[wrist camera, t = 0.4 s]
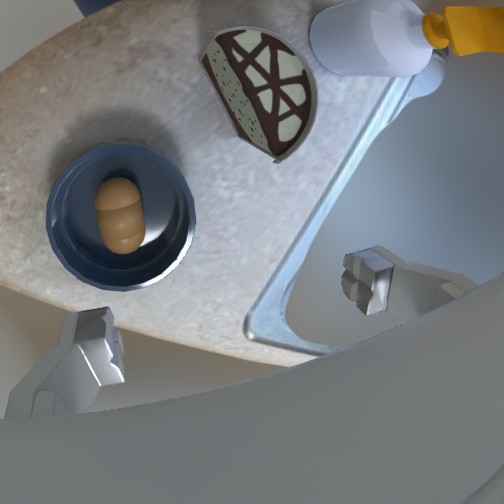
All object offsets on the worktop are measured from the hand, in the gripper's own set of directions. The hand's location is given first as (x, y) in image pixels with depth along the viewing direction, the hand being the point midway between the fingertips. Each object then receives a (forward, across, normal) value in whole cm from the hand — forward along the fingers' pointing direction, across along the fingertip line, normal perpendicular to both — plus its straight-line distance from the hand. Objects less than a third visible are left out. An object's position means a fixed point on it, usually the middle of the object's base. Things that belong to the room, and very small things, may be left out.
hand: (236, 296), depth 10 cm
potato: (+24, +6, +3) cm, 25 cm away
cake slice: (+24, -8, -8) cm, 27 cm away
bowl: (+24, +6, +3) cm, 25 cm away
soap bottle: (+24, -21, -13) cm, 35 cm away
